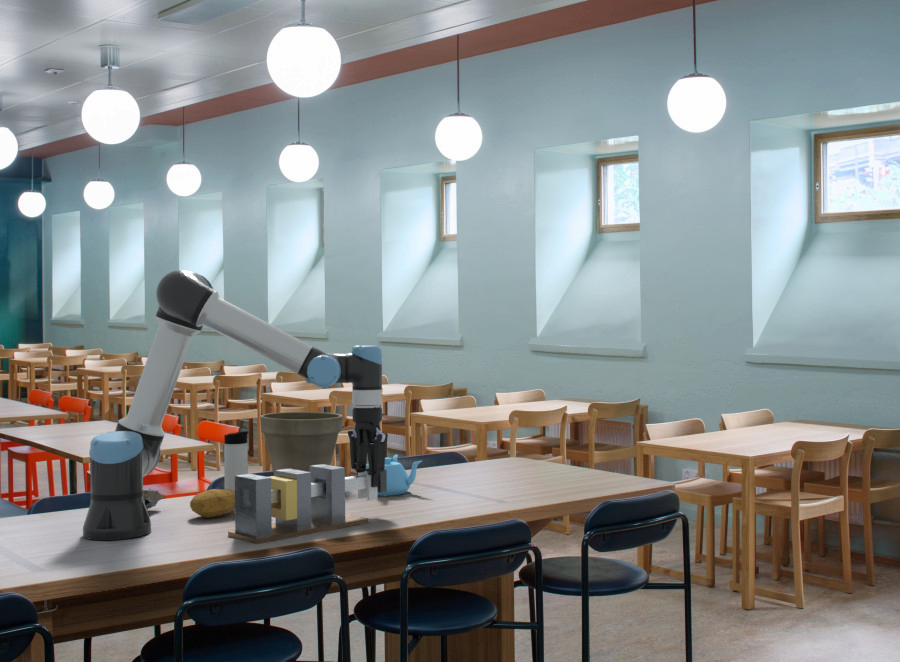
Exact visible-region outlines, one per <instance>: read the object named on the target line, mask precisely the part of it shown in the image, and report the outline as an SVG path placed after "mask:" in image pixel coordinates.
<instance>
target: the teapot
mask: <svg viewBox="0 0 900 662" xmlns="http://www.w3.org/2000/svg"><path fill="white" fill-rule="evenodd" d="M398 458H399V455H398V454H397V453H396V454H394V455H393V457H385V468H384V469H386V473H387V491H386V492H377V497H378V496H380V497H383V496H385V497H388V496H399V495H400V494H401V495H403V494H406V493H407V492H408V490H409V489H410V487H411V485H413V483H414V482H415V480H416V475H417V468H418V466H419V464H420V463H422V462H423V460H418V461H414V462H413V463H412V465H411V469H410V473H409V475H408V473H407V470H406V469H405V467H404V466H403V465H402V463H400V462H398ZM366 468H369V463H366ZM364 472H366V471H364ZM401 495H400V496H401Z"/></svg>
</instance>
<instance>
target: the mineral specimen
mask: <svg viewBox="0 0 900 662" xmlns="http://www.w3.org/2000/svg"><path fill="white" fill-rule="evenodd" d="M163 498H165V494H162V493H160V492H159V490H157V489H151V488H143V501H144V504H145V506H146V509H147V511H148V510H149V509H152V508H153V507H156V506H157V504H158V502H159V501H161V500H162V499H163Z"/></svg>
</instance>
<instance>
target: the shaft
mask: <svg viewBox="0 0 900 662" xmlns="http://www.w3.org/2000/svg"><path fill="white" fill-rule="evenodd" d="M366 469H368V471H365V472H369V467H366ZM366 488H367V474H364V475H357V474H356V475H351V476H345V493H346V492H352V491H353V492H354V491H358V490H360V489H366ZM386 491H387V473H386V469H384V472H380V473H379V474H378V487H377V492H386ZM322 495H326V480H323V481H316V482H311V497H316V496H322ZM278 502H281V490H279V489H274V488H271V504H272V503H278Z"/></svg>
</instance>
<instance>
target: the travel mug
mask: <svg viewBox="0 0 900 662" xmlns="http://www.w3.org/2000/svg"><path fill="white" fill-rule="evenodd" d="M248 434H249V430H244V431H238V432H231V433H227V434H224V435H223V436H224V439H223V440H224V441H223V443H224V444H223V445H224V446H223V452H224V453H223V455H224V456H223V458H224V460H223V461H224V462H223V464H224V465H223V466H224V469H223V470H224V476H223V477H224V479H223V480H224V489H229V490H232V491H234V492H235V476H236V475H243V474H249V468H248V466H249V465H248V464H249V462H248V461H249V459H248V458H249V457H248V456H249V455H248V451H249V450H248V447H249V446H248V443H249V442H248Z"/></svg>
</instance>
